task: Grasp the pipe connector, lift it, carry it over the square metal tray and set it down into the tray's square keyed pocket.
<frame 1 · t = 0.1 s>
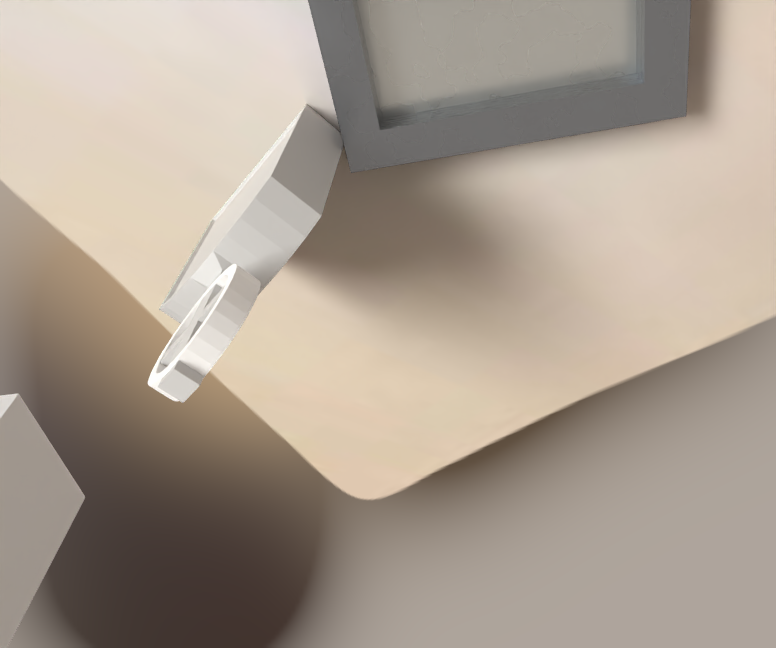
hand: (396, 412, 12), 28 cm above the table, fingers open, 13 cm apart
gravestone: (276, 179, 40), on the table
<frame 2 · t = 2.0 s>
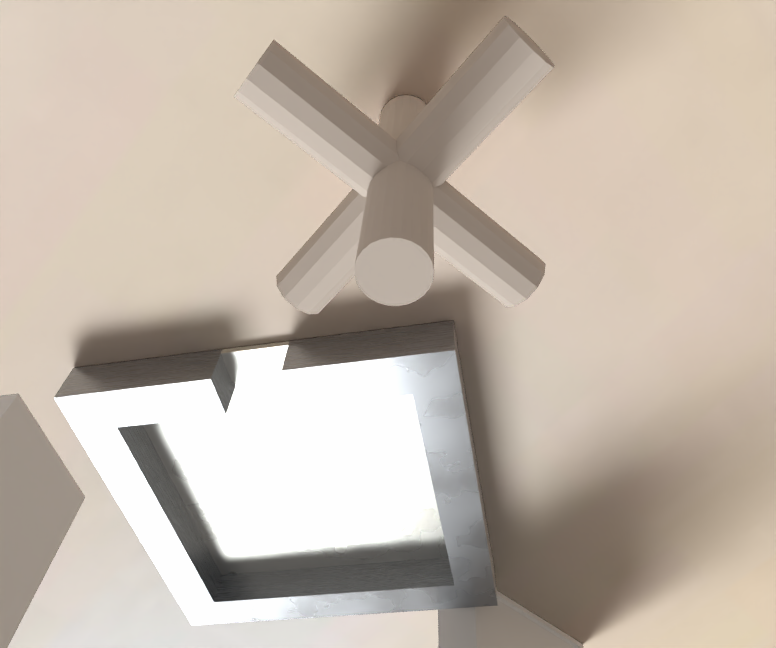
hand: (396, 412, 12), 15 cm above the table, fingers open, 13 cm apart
square metal tray: (305, 480, 35), on the table
gravestone: (512, 617, 41), on the table
pipe connector: (406, 119, 24), on the table
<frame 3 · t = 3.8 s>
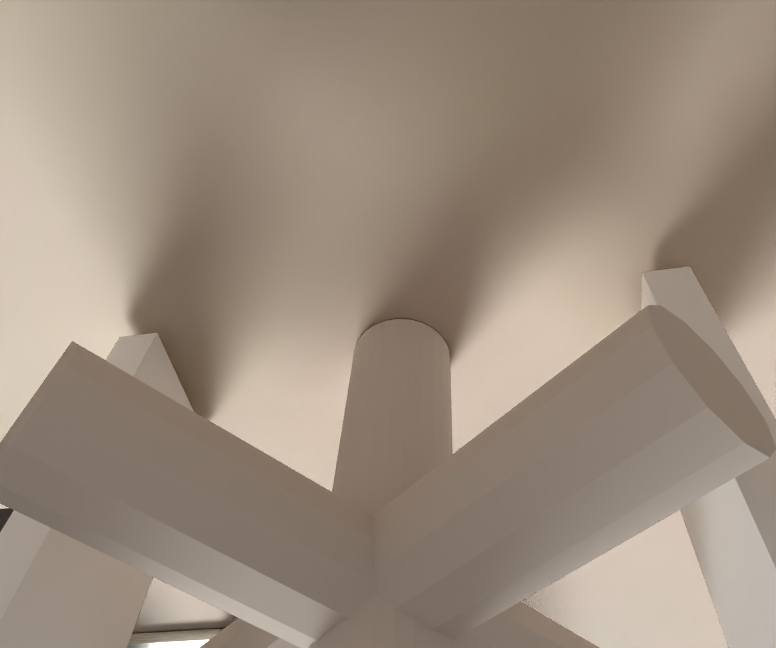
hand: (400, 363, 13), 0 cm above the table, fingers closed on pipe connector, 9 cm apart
pipe connector: (402, 351, 13), on the table, touching gripper
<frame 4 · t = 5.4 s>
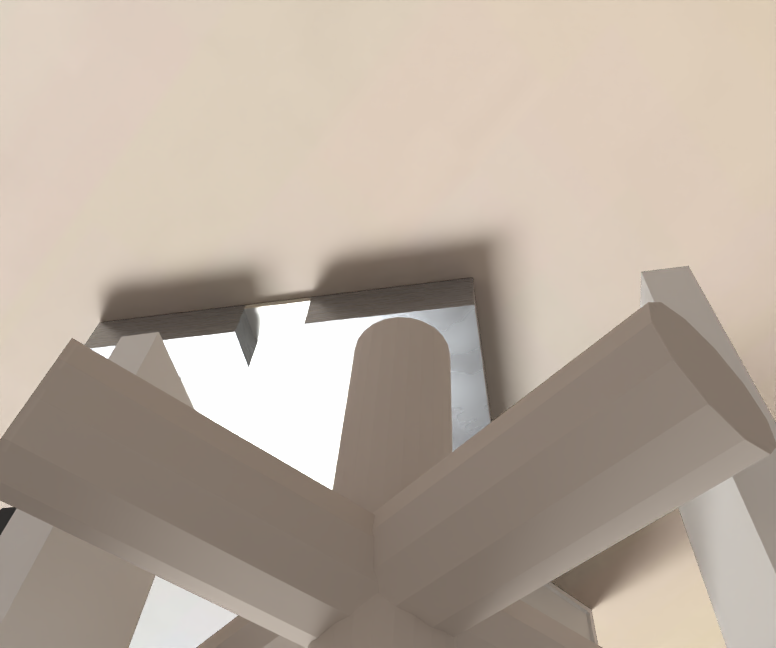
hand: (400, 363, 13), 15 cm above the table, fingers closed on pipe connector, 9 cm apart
square metal tray: (323, 439, 36), on the table
gravestone: (522, 581, 42), on the table
pipe connector: (402, 350, 13), point 15 cm above the table, touching gripper
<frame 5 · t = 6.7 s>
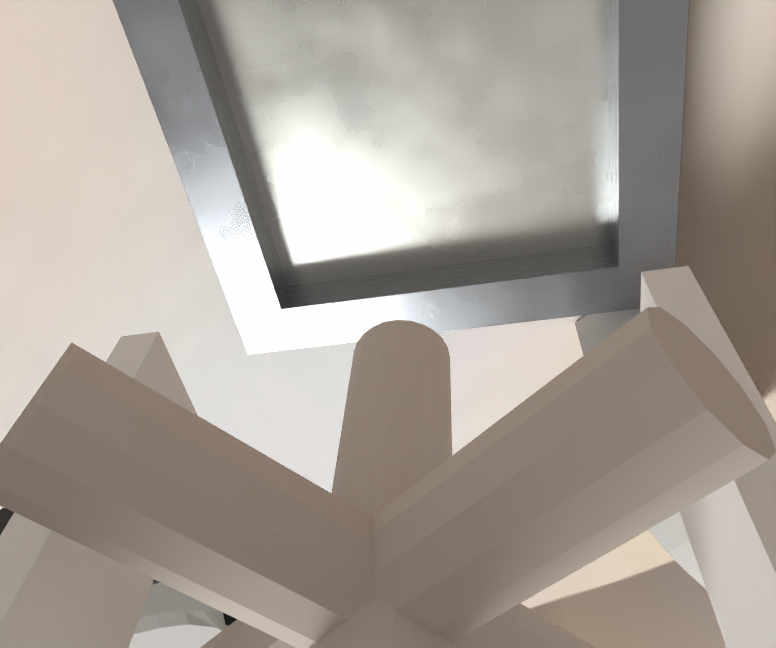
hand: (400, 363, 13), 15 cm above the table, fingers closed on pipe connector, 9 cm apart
robot toy: (231, 618, 45), on the table
square metal tray: (417, 105, 25), on the table
gravestone: (667, 362, 31), on the table
pipe connector: (402, 352, 13), point 14 cm above the table, touching gripper
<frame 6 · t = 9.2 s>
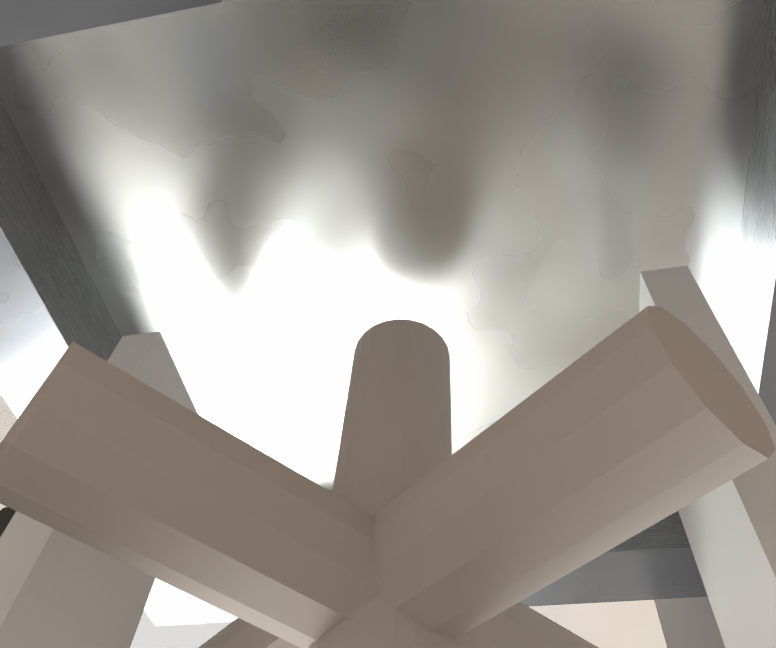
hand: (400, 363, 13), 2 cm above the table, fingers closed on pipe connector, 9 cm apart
square metal tray: (408, 294, 15), on the table
pipe connector: (402, 352, 13), point 2 cm above the table, touching gripper
when the fingers open (2 cm above the table, at t = 9.2 s): pipe connector drops 2 cm, resting on square metal tray.
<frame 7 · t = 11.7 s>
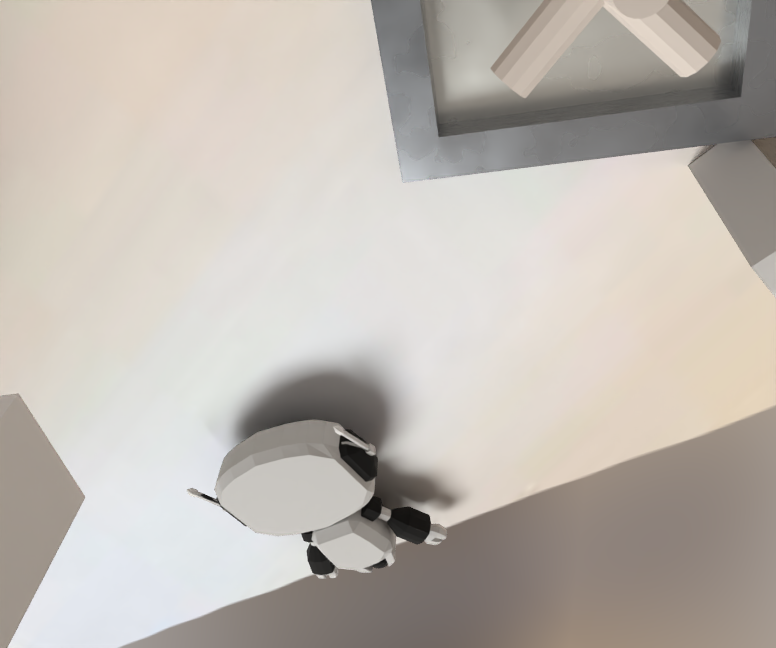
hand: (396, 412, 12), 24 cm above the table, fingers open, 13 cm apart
robot toy: (331, 475, 50), on the table
gravestone: (765, 208, 35), on the table
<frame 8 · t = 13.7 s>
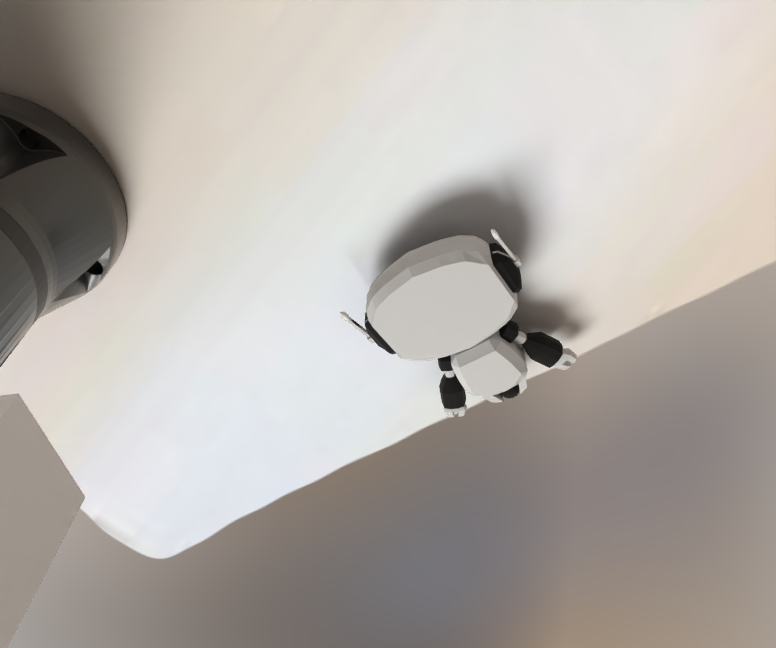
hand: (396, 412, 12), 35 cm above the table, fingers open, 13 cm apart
robot toy: (463, 309, 53), on the table
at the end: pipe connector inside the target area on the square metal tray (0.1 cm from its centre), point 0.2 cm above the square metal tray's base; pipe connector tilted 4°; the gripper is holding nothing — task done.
